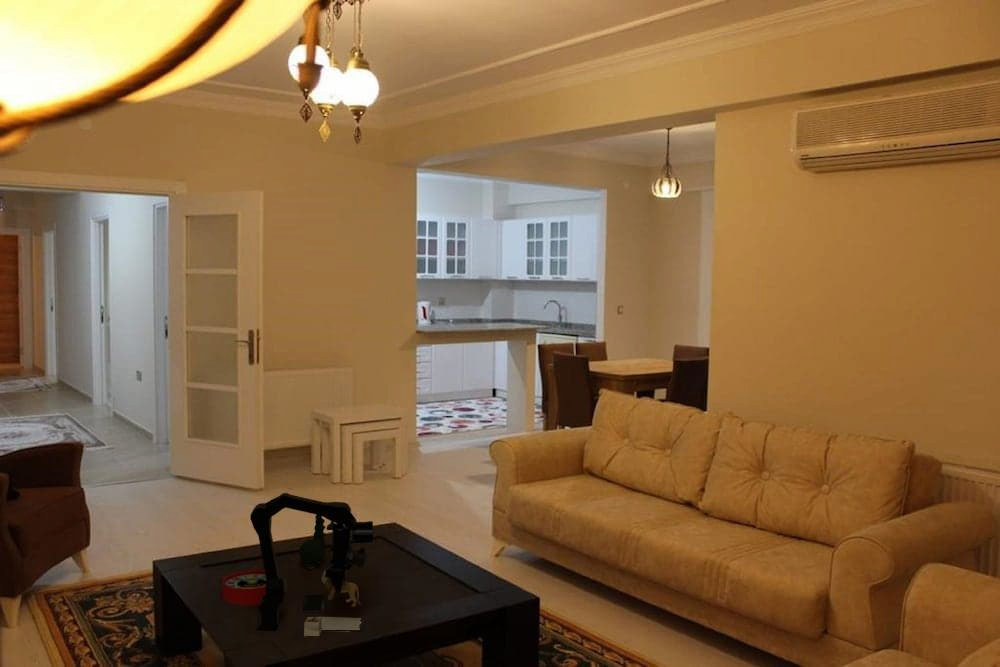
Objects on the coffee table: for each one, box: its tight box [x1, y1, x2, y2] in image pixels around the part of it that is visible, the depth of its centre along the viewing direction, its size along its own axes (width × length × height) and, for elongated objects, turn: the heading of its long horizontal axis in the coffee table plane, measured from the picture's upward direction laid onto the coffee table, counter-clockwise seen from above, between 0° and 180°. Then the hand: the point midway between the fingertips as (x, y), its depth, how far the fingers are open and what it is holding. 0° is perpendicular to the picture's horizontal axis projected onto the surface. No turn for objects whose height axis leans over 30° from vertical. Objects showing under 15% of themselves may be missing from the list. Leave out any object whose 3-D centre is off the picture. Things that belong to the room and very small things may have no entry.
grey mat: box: [320, 616, 362, 630], centre depth 279 cm, size 10×16×1 cm, turn 90°
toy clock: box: [221, 569, 266, 606], centre depth 303 cm, size 20×6×20 cm
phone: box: [300, 594, 328, 613], centre depth 296 cm, size 8×1×15 cm
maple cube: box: [303, 616, 323, 637], centre depth 271 cm, size 4×4×5 cm
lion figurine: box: [321, 570, 362, 608], centre depth 278 cm, size 15×5×9 cm, turn 94°
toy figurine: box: [298, 514, 327, 568], centre depth 338 cm, size 9×19×25 cm
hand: (340, 590), depth 278 cm, fingers closed on lion figurine, 4 cm apart
